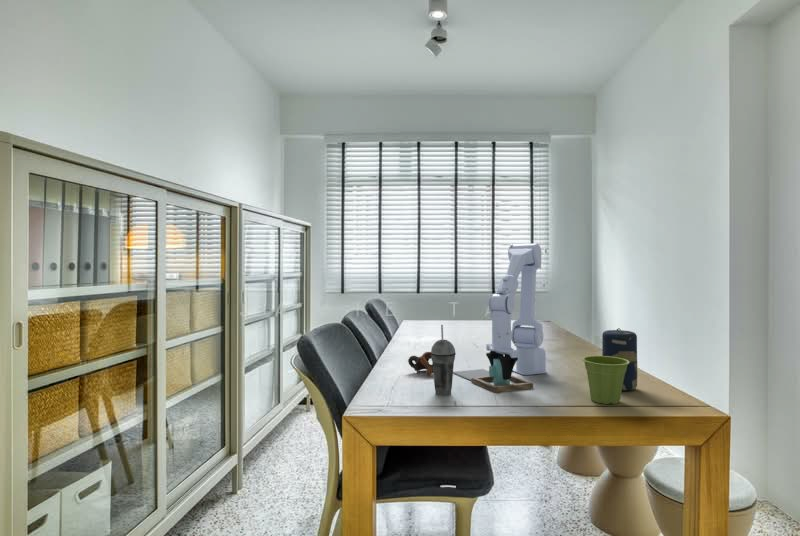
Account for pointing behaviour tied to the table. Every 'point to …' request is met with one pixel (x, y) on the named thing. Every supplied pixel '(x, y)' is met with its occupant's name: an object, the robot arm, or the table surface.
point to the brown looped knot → (422, 363)
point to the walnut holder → (520, 385)
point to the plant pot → (605, 377)
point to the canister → (622, 353)
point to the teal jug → (497, 373)
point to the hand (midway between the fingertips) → (501, 377)
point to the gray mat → (472, 373)
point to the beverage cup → (443, 365)
